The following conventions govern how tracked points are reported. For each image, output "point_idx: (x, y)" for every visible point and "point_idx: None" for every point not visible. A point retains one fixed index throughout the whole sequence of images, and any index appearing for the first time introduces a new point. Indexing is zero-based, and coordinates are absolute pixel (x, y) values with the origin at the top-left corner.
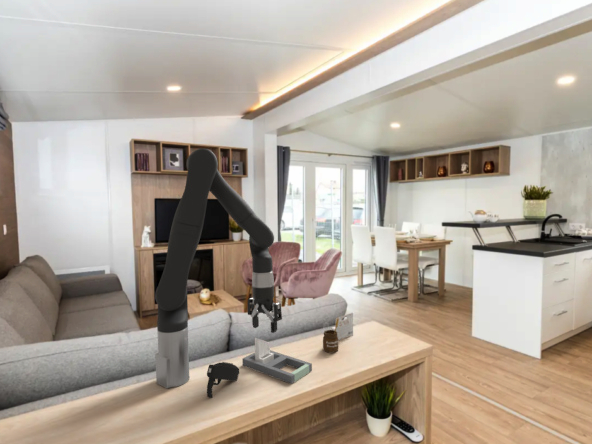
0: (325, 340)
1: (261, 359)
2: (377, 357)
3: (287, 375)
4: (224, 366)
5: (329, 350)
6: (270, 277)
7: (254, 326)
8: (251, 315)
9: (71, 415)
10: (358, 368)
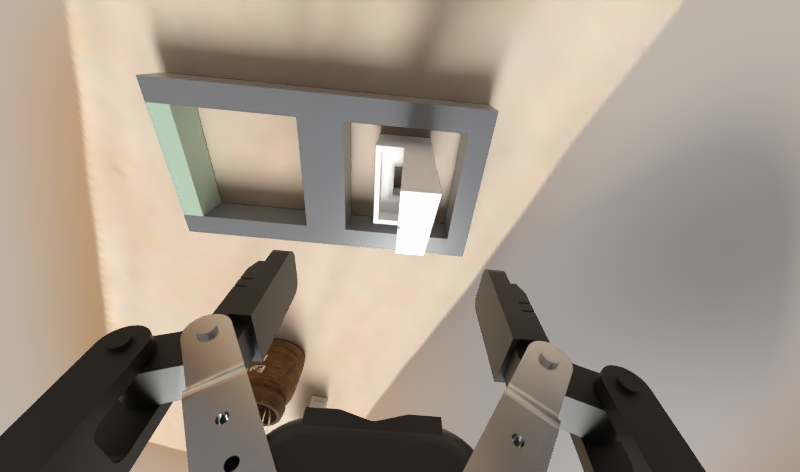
0: (266, 374)
1: (385, 145)
2: None
3: (165, 77)
4: None
5: None
6: None
7: (489, 275)
8: (565, 363)
9: None
10: (123, 295)
